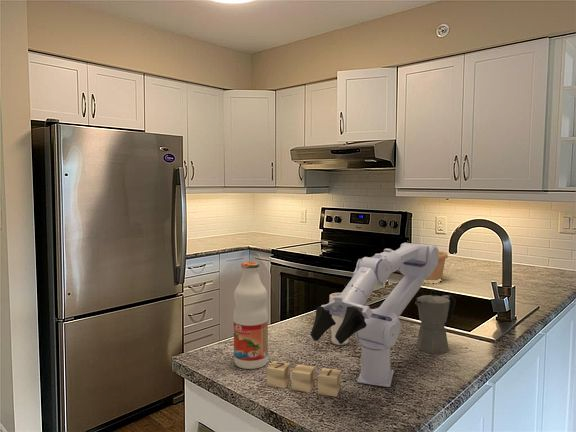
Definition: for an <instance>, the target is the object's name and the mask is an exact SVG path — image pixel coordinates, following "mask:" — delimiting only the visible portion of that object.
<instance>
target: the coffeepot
mask: <svg viewBox="0 0 576 432" xmlns="http://www.w3.org/2000/svg"><path fill="white" fill-rule="evenodd" d="M436 294H437V290H436V289H434V288H433V289H430V294H429V295H426V294H425V295H421V296H419V297H416V301H415V302H414V303H415V305H416V306H417V309H418V317H419V321H420V326H419V329H418V330H419V331H418V334H417V340H416V344H415V346H416V348H417V349H418V350H419V351H421V352H423V353H426V354H432V355H439V354H440V355H441V354H446V353H447V352H448V350H449V341H448V336H447V329H446V328H445V324H446V323H448V322H450V321H452V318H453V314H454V311H455V307H456V304H457V303H456V302H457V300H456V298H455V296H454V295H453V294H448V295H447V294H446V295H445V294H443V295H441V296H440V295H436Z"/></svg>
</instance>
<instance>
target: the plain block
mask: <svg viewBox="0 0 576 432" xmlns="http://www.w3.org/2000/svg"><path fill="white" fill-rule="evenodd" d="M315 385H316V366H311V365H305V364H296V366H295V367H294V368H293V369H292V371H291V390H292V391H299V392H306V393H311V391H312V390H313V388H314V386H315Z"/></svg>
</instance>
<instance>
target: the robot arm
mask: <svg viewBox="0 0 576 432" xmlns="http://www.w3.org/2000/svg"><path fill="white" fill-rule="evenodd" d="M439 251H440V250H439V248H438V247H437V246H436V244H431V245H429V244H422V243H421V244H420V243H409V242H403V243H401V244H400V247H399V248H397V249H395V250H393V249H392V248H384V249H383V252H380V253H375V254H374V255H372V256H370V257H368V256H364V257H362V258H358V260H357V262H356V267H355V270H354V271H353V273H352V277H351V279H350V281H349V282H348V283H347V285H346V286H345V288H344V289H343V290H342V292H340V293H341V295H340V296H335V297H334V301H332V302H330V303H329V302H328V303H327V304H321V306H317V307H316V309H315V319H314V323H313V326H312V328H311V331H310V334H309V335H310V336H311V337H312V339H313V341H314V342H318V341H319V340H320V339H321V338H322V336H323V335H324V334H325V333H326V332H327V331H328V330H329V329H331V326H333V325H335V324H336V323H335V321H334V320H333V318H332V315H334V316H337V317H340V318H343V322H342V324H341V326H340V327H339V329H338V331H337V333H336V335H335V338H336V339H337V341H338V342H339V343H340V344H342V343H343V342H345V341H346V340H347V339H348V338H350V337H351V336H353V335H355V337H356V338H357V339H358V343H359V344H361V346H360V349H361V351H360V352H361V354H360V355H361V356H360V357H361V358H360V361H361V362H360V363H361V364H360V373H359V375H358V377H357V381H356V382H357V383H358V384H359V383H360V384H365V385H371V386H379V387H385V388H390V387H391V384H392V380H393V375H394V369H391V348H393V346H395V344H396V343H397V341H398V338H399V335H400V332H401V330H402V327H401V321H400V318H399V317H400V316H401V315H402V313H403V312H404V310H405V309H406V308H407V307H408V305H409V304H410V302H411V301H412V299H413V298H414V297H415V296H416V294H417V293H418V292H419V290H420V289H421V287H422V285H424V284H423V282H424V280H425V279H426V278H427V277H429V276H430V275H431V273H432V272H433V271H434V269H435V268H436V267H437V264H438V259H439ZM398 270H399V272H400V274H402V276H403V277H401V279H400V281H399V282H398V283H397V284H396V286H395V287H394V288H393V289H392V291H391V292H390V294H388V296H387V297H386V298H385V300H384V301H383V302H382V303H381V304H380V306H379V307H377V308H370V306H369V305H365V304H366V302H367V301H368V299H369V298H370V297H371V295H372V293H373V292H374V290H375V289H376V287H377V285H378V284H379V283H386V282H387V280H388V279H389V276H391V274H392V273H395V272H396V271H398Z"/></svg>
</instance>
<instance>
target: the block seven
mask: <svg viewBox="0 0 576 432" xmlns="http://www.w3.org/2000/svg"><path fill="white" fill-rule="evenodd" d="M290 381H291V363H289V362H283V361H282V362H281V361H276V360H273V361H272V362H270V364H269V365H268V366H267V367H266V386H268V387H272V388H273V387H275V388H278V389H285V388H286V386H287V385H288V384H289V383H290Z"/></svg>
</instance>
